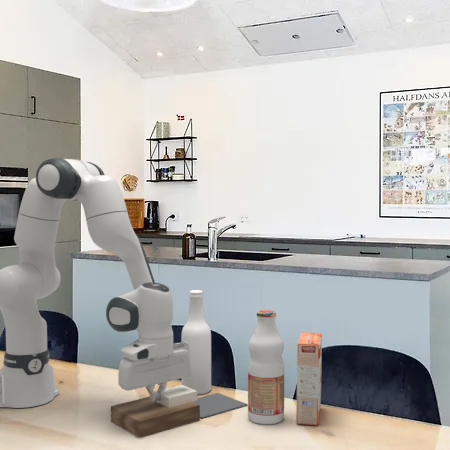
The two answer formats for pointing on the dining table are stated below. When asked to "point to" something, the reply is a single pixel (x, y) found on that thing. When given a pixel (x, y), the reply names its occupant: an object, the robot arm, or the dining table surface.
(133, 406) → the board
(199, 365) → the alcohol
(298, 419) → the cracker box
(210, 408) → the mat
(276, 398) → the fruit juice
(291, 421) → the dining table surface
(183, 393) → the tile
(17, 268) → the robot arm
